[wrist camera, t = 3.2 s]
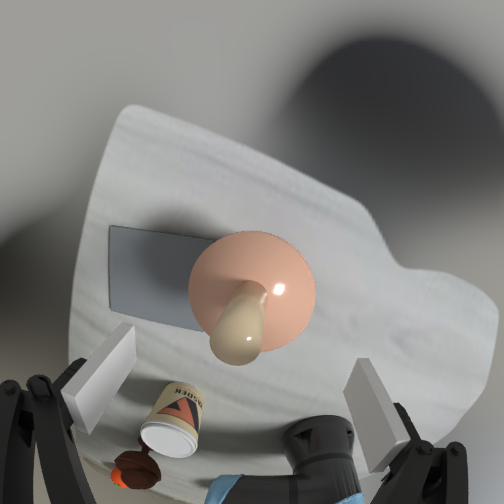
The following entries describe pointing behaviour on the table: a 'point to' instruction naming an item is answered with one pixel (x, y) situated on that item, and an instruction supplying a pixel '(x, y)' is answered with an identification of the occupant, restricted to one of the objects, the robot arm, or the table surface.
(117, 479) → the clementine
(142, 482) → the ice cream bowl
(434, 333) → the table surface
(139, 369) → the table surface
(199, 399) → the coffee cup
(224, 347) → the lid
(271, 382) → the table surface
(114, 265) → the mat
